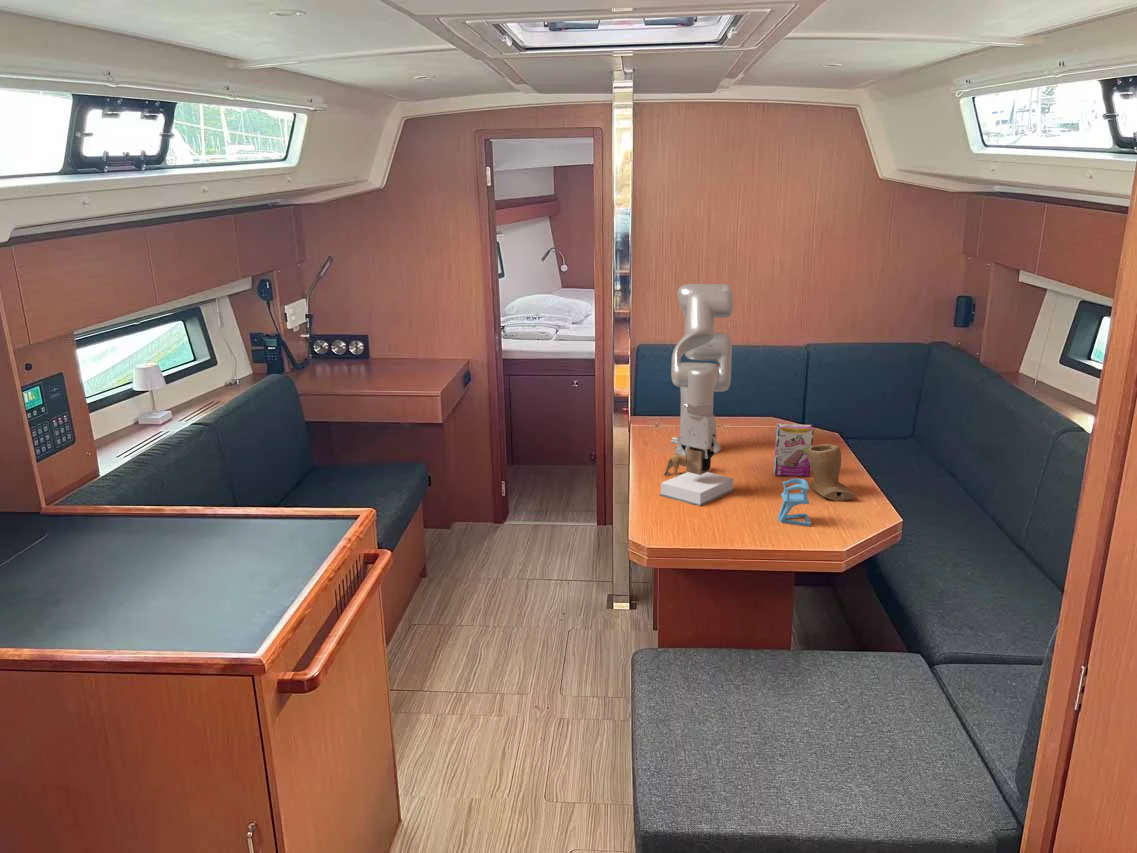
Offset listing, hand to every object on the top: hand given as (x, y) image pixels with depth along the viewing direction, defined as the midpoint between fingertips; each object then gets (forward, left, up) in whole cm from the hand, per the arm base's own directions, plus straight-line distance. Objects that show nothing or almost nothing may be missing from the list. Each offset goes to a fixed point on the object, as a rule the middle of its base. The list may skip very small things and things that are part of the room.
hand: (698, 467), depth 258 cm
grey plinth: (0, 0, -8) cm, 8 cm away
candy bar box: (+13, +35, -8) cm, 38 cm away
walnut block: (0, 0, -1) cm, 1 cm away
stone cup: (+30, +25, -8) cm, 40 cm away
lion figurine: (-14, +14, -8) cm, 21 cm away
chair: (+33, -2, -8) cm, 34 cm away
